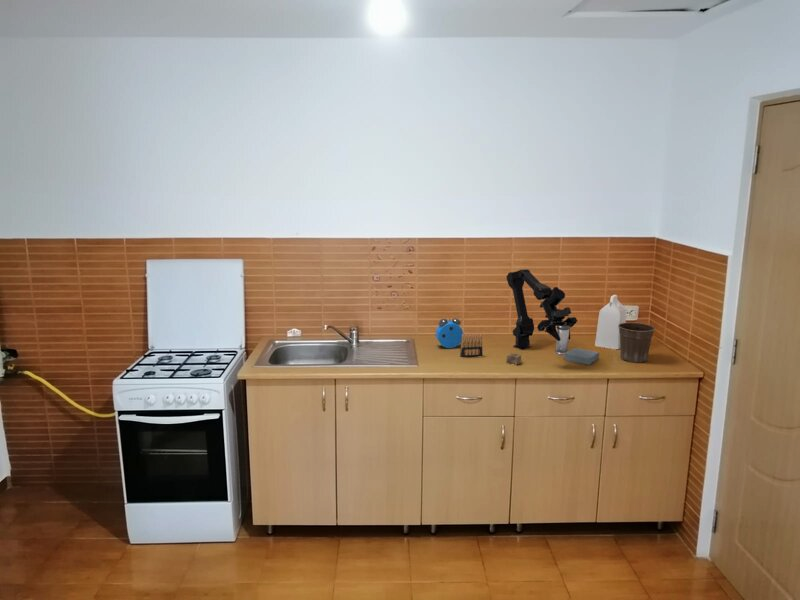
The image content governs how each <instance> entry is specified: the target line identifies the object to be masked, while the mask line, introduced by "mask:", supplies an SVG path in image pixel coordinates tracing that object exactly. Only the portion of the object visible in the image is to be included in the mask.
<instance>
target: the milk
mask: <svg viewBox="0 0 800 600" xmlns="http://www.w3.org/2000/svg"><path fill="white" fill-rule="evenodd" d="M621 323H627V309H626V307H625V306H624V305H623V304H622V303H621V302H620V301H619V300H618V295H617V294H613V295H611V296H610V300H609V303H606V305H604V306H603V307H602V308H600V310H599V313H598V320H597V327H596V334H595V343H594V347H598V348H604V347H605V348H606V349H610V348H611V350H616V349H618V350H619V349H620V334H619V327H618V325H619V324H621ZM605 348H604V349H605Z"/></svg>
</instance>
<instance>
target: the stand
mask: <svg viewBox="0 0 800 600" xmlns="http://www.w3.org/2000/svg"><path fill="white" fill-rule="evenodd" d="M599 354H600V352H598V351H593V350H589V349H582V348H577V347H574V348H572V349H570V350H568V354H567V355H564V360H565V361H569V362H573V363H578V364H583V365H587V366H590V365H592V364H593V363H594V362H595V361H598V359H599Z"/></svg>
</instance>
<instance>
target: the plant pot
mask: <svg viewBox="0 0 800 600" xmlns="http://www.w3.org/2000/svg"><path fill="white" fill-rule="evenodd" d="M618 327H619V334H620V348H619V349H620V351H619V352H620V353H619V354H620V359H621V360H623V361H627V362H630V363H635V362H639V363H644V362H647V361H648V358H649V352H650V348H651V342H652V338H653V336H654V331H655V330H656V328H655V326H653V325H651V324H646V323H641V322H626V323H621V324H619V325H618Z"/></svg>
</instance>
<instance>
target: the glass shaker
mask: <svg viewBox="0 0 800 600" xmlns="http://www.w3.org/2000/svg"><path fill="white" fill-rule="evenodd" d="M556 328H557V329H556V331H557V333H558V335H559V338H560V341H558V340H556V346H555V352H554V353H555V354H556V355H558V356H559V355H560V356H565V355H567V354H568V352H569V341H570V340H569V329H570V330H571V328H570V325H567V324H558V325H557V326H556Z"/></svg>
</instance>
